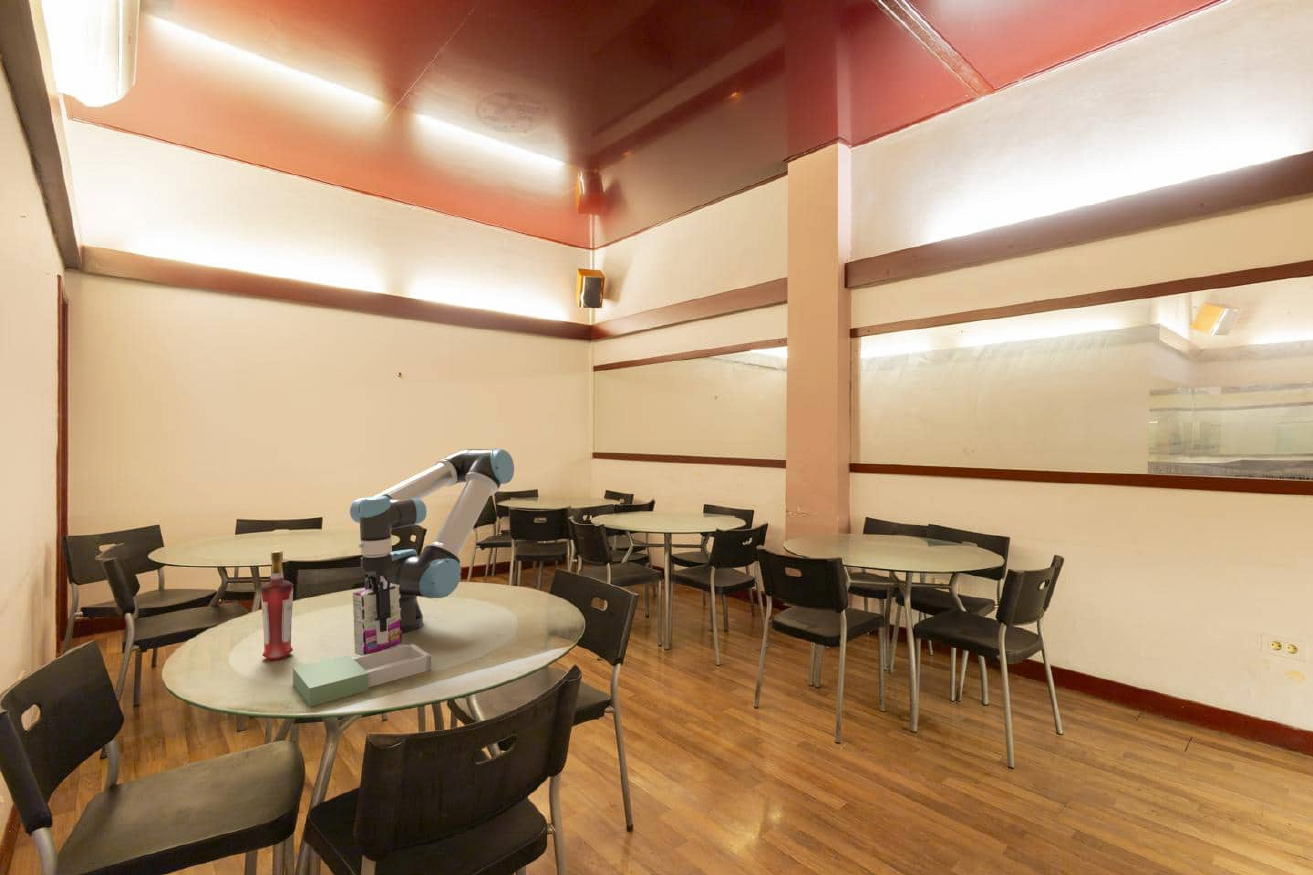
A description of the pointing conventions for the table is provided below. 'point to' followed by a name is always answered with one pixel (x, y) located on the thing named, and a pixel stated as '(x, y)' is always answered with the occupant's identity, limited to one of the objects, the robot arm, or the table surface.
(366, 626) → the candy bar box
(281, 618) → the liquor
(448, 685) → the table surface
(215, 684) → the table surface
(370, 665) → the sliding drawer box
